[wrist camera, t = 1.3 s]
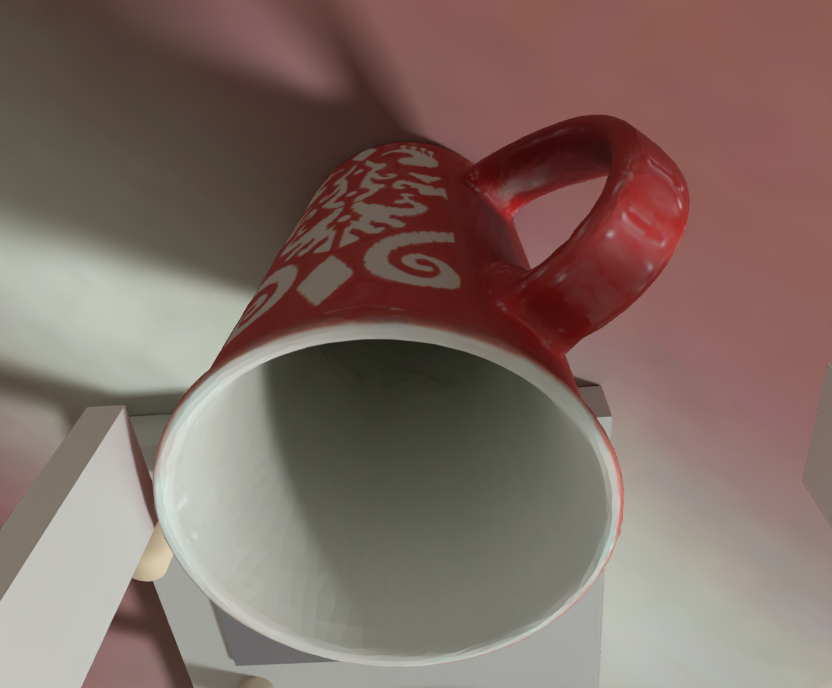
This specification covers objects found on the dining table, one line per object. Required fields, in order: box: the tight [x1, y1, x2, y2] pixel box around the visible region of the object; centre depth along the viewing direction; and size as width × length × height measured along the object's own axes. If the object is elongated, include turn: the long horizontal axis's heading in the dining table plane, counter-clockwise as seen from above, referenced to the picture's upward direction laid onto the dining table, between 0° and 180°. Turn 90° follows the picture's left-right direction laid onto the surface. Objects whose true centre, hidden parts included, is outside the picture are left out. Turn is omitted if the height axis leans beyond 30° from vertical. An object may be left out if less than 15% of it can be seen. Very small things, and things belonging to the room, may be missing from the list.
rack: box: [130, 386, 612, 688], centre depth 32 cm, size 19×23×7 cm
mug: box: [153, 115, 690, 667], centre depth 20 cm, size 13×9×14 cm
